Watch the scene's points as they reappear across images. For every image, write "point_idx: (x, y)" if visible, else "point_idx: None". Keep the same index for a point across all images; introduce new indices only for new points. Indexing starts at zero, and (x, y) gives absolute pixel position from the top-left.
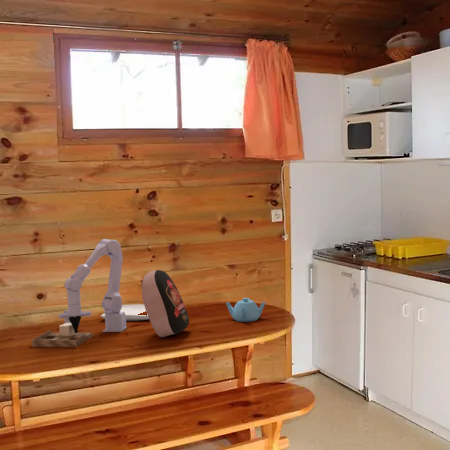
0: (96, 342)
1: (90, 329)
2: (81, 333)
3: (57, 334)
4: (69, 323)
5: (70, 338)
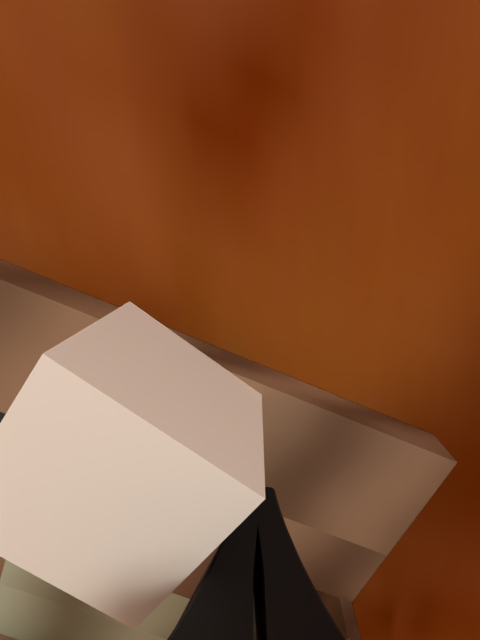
0: (427, 636)
1: (471, 32)
2: (318, 445)
3: (13, 374)
4: (115, 442)
5: (198, 583)
